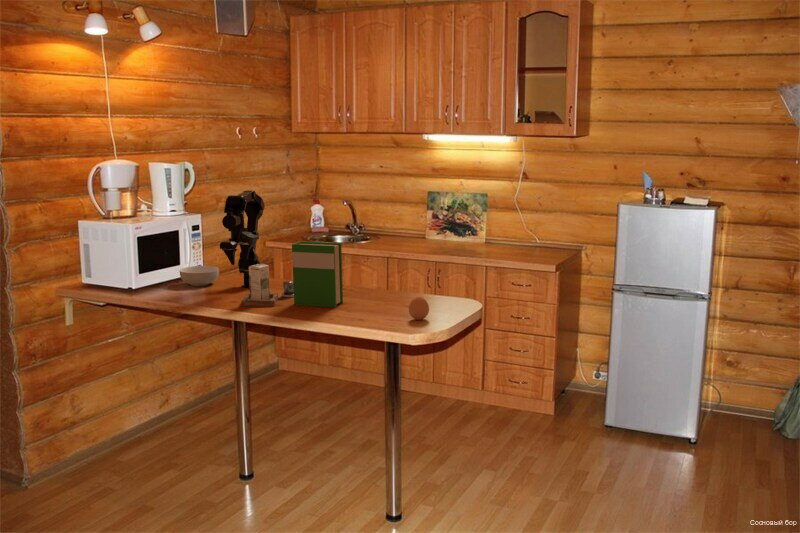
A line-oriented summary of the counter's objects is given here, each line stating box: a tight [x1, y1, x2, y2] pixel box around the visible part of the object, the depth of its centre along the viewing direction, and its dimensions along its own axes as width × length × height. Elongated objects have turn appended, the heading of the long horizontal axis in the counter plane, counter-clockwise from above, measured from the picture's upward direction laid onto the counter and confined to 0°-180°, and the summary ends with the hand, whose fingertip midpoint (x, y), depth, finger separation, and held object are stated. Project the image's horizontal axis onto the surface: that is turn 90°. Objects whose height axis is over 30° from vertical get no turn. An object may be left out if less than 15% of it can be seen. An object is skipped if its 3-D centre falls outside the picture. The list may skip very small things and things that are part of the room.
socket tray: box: [240, 293, 279, 308], centre depth 309 cm, size 13×13×2 cm
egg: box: [408, 295, 430, 321], centre depth 279 cm, size 7×7×8 cm
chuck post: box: [281, 280, 294, 299], centre depth 319 cm, size 6×6×6 cm
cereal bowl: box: [179, 265, 220, 287], centre depth 345 cm, size 17×17×7 cm
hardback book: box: [291, 240, 344, 308], centre depth 304 cm, size 18×7×24 cm, turn 71°
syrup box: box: [248, 263, 271, 300], centre depth 308 cm, size 6×6×14 cm
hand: (239, 263), depth 324 cm, fingers open, 9 cm apart
